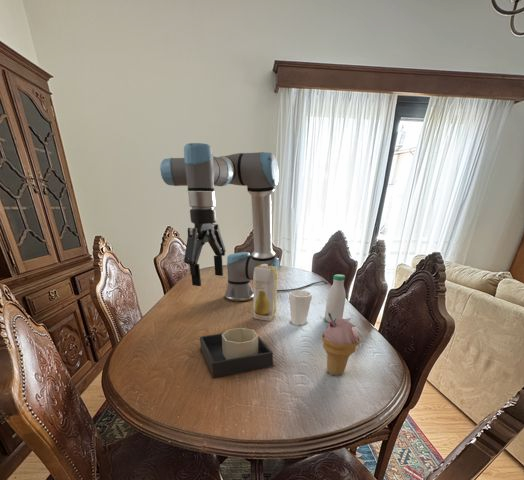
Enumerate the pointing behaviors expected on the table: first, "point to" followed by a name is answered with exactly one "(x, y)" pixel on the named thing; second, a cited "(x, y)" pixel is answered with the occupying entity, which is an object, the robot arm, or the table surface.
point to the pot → (239, 343)
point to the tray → (222, 367)
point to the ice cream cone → (339, 344)
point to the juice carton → (264, 292)
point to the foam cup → (299, 306)
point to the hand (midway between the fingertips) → (208, 280)
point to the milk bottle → (336, 299)
